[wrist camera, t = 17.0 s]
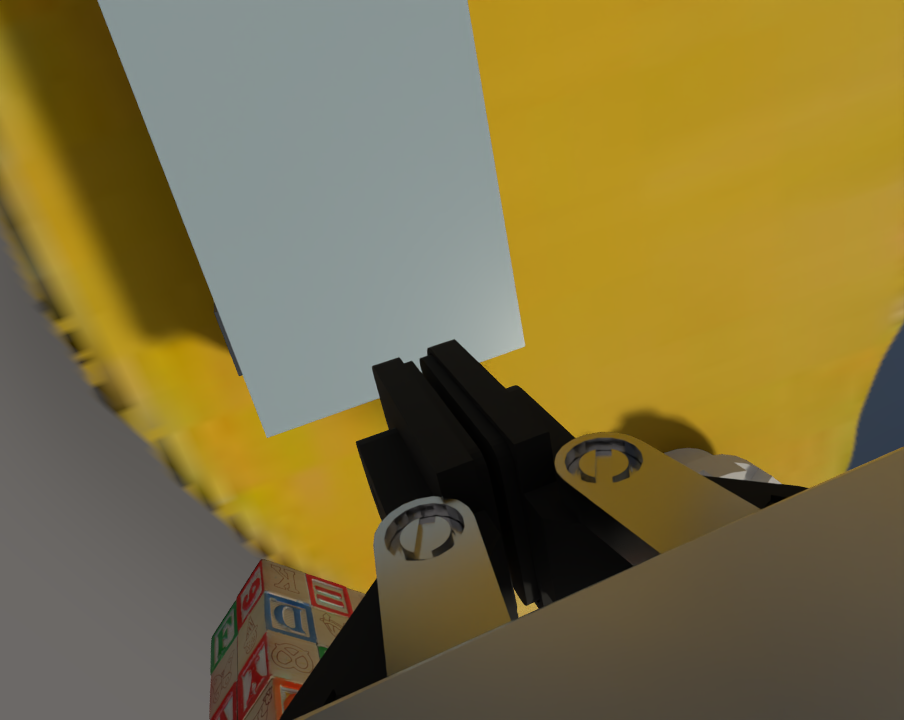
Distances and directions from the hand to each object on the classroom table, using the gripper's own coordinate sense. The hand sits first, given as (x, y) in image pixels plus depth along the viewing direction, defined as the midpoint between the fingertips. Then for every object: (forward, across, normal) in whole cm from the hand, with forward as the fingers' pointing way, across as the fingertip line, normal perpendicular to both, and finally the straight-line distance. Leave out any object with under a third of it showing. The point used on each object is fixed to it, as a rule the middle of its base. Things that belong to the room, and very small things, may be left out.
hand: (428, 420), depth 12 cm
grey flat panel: (+18, -2, -6) cm, 19 cm away
